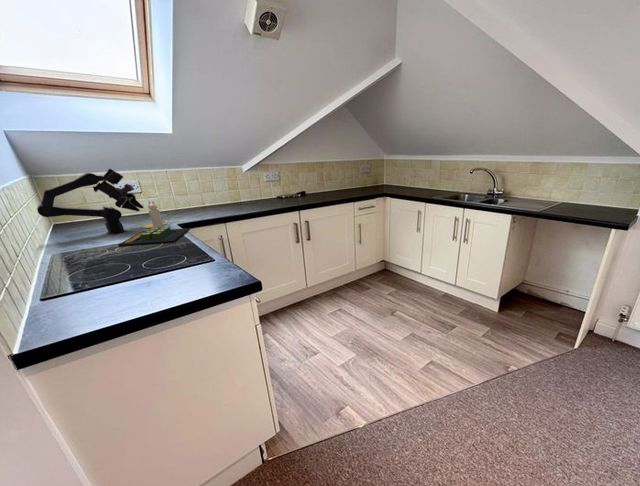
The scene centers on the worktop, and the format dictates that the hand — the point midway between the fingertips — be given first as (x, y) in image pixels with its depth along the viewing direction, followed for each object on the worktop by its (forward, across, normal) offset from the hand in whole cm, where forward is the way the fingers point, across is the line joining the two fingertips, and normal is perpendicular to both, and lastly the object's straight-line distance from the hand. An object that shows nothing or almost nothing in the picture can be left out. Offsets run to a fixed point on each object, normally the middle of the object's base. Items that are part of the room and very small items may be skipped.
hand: (141, 209), depth 173 cm
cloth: (+10, +8, +7) cm, 14 cm away
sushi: (+15, -24, +2) cm, 28 cm away
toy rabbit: (+13, -2, +4) cm, 13 cm away
